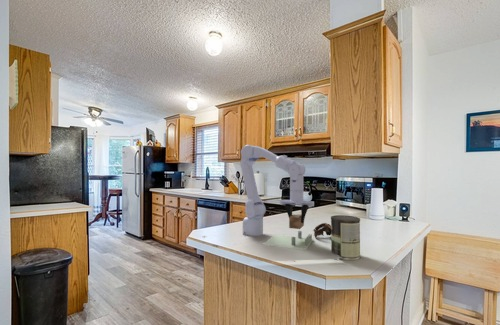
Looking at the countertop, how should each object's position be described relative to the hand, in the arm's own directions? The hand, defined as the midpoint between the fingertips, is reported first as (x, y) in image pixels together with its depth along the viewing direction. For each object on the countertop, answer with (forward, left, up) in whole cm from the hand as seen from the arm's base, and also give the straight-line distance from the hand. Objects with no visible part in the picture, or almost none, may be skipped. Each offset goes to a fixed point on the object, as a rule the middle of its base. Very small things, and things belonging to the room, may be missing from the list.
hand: (296, 222), depth 107 cm
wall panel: (-3, -2, -9) cm, 10 cm away
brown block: (0, 0, -2) cm, 2 cm away
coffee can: (+20, -7, -10) cm, 23 cm away
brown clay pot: (+10, +15, -10) cm, 21 cm away
